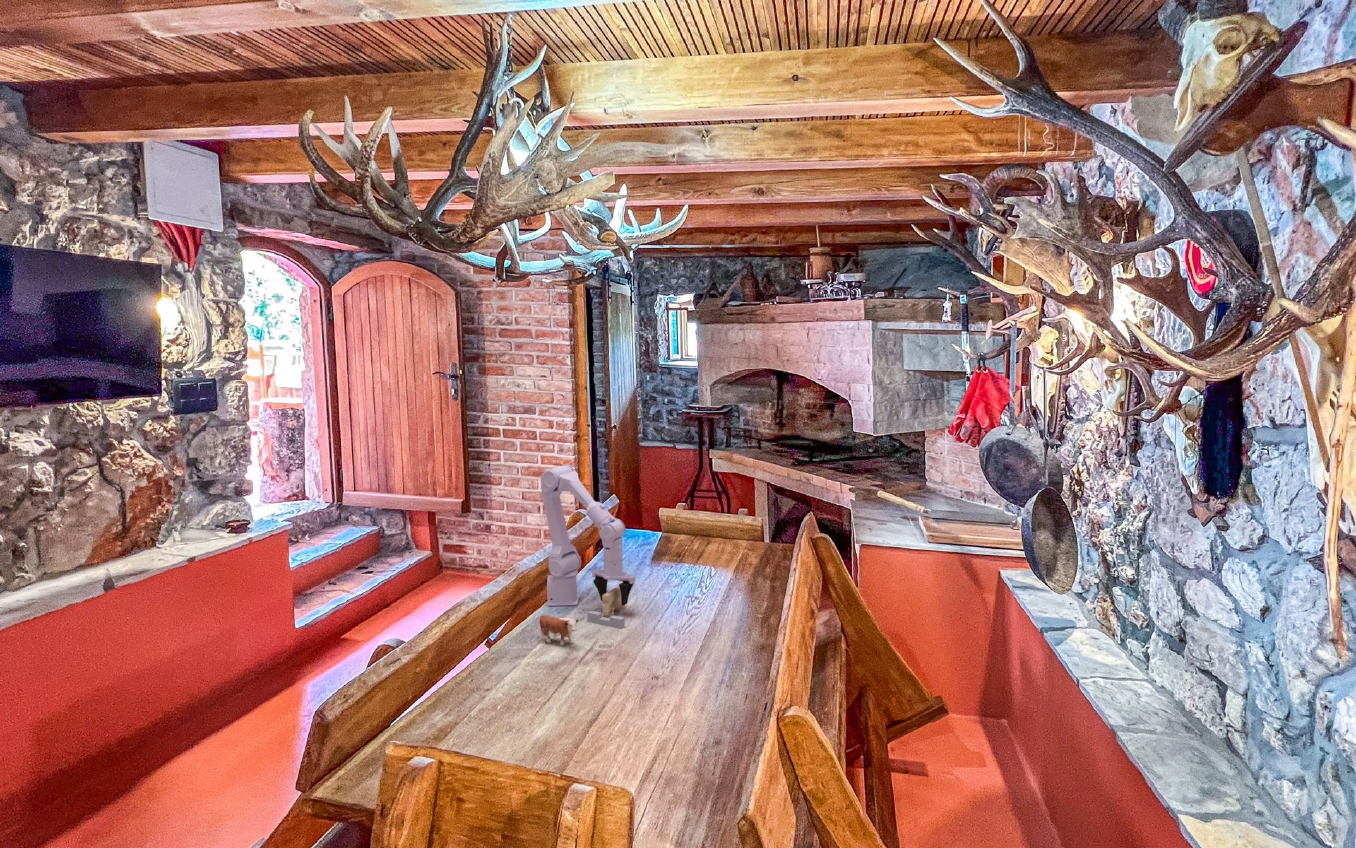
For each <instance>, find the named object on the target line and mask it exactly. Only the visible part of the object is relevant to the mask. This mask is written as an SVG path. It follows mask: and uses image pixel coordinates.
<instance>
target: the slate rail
mask: <svg viewBox="0 0 1356 848" xmlns="http://www.w3.org/2000/svg"><path fill="white" fill-rule="evenodd" d="M586 620H587V622H589V623H594V624H599V625H604V626H608V627H613V628H617V629H623V628H625V625H626V623H625V617H623V616H618V615H612V616H611V617H609V618H605V617H603V612H599V611H593V610H589V611H588V612H587V619H586Z"/></svg>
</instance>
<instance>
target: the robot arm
mask: <svg viewBox="0 0 1356 848" xmlns="http://www.w3.org/2000/svg"><path fill="white" fill-rule="evenodd" d="M540 482H541V493H540V494H541V498H542V502H543V508H544V512H545V513H544V514H545V516H546V521H547V527H548V530H549V535H550V539H551V544H552V545H551V546H552V549H551V550H550V552H549V554H548V571H549V572H550V574H548V575H547V583H546V591H547V592H546V597H547V606H548V607H549V606H550V607H557V606H560V607H561V606H563V607H564V606H577V605H578V604H579V599H580V595H578V582H577V581H578V580H577V578H578V577H577V575H578V572H579V571H578V570H579V569H580V567H581V566H582V559H581V556H580V555H579V552H578V551H577V547H576V546H575V545H573V544H572V543H571V541H570V537H569V533H568V528H567V524H566V519H565V514H564V510H563V509H564V508H563V505H562V500H561V495H562V493H563V492H570V493H571V495H573V497H574V498H576V500H577V501H579V503H580V504H581V505H582V506H583V507H584V508H585V509H586V511H585V514H586V516H587V517H588V518H589V520H590V521H591V522H592V523H593V524H594V525H595V527H596V528H597V529H598V530H599V531H598V535H599V538H600V539H601V543H602V547H603V569H595V568H594V570H592V571H591V573H592V574H591V575H592V576H591V577H592V578H594V579H593V580H592V583H593V584H594V586H595V587H596V589H597V592H598V595H599V599H600V601H601V602H602V595H604V594H605V593H607V592H608V591H607V590H608V580H612V581H619V582H621V583H619V584H618V586H619V588H620V591H621V603H622V605H625V606H626V605H627V604H628V601H629V596H630V593H631V590H632V588H633V586H634V584H635V583H636V576H635V575H632V574H629V573H626V572H624V570H623V569H624V568H623V536H624V535H625V533H626V526H625V523H624V522H623V521H622V520H621V519H619V518H616V517H615V516H613V515H612V514H611V513H610V512H609V511H608V509H607V508H606V505H605V504H604V503H602V502H600V501H595V500H594V498H593V497H592V495H591V494H590V493H589V492H588V490H587V489H586V487H585V486H584V485H583V483H582V481H581V480H580V479H579V473H578V472H577V471H576V470H575V468H574V467H573V466H572V465H570V464H568V463H567V464H564V465H560V466H556V467H553V468H547V469H546V470H544V472H543V473H542V474H541V475H540Z"/></svg>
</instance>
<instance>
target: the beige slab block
mask: <svg viewBox="0 0 1356 848" xmlns="http://www.w3.org/2000/svg"><path fill="white" fill-rule="evenodd" d="M601 603H602V617H605V618H610V617H611V616H613V615H614V613H615V612H614V611H618V612H620V611H621V610H623V609H625V608H626V604H625V605H622V603H621V591H620V588H619V585H618V586H616V587H614V588H613V589H611V590H609V591H607V593H605V594H604V595H602V601H601ZM614 616H615V615H614Z"/></svg>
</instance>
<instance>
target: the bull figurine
mask: <svg viewBox="0 0 1356 848" xmlns="http://www.w3.org/2000/svg"><path fill="white" fill-rule="evenodd" d="M578 622H579V618H577V619H574V618H570V617H564V618H563V617H562V618H560V617H555V616H549V615H545V614H544V615H541V616H540V617H539V626H540V634H541V636H542V637H543V638H545V641H546V642H547V643H548V644H551V643H552V641H551V638H552V637H551V636H550V633H552V634H554V636H557V635H560V643H559V644H560V646H561V647H564V646H565V643H564V639H565V637H566V638H567V639H568V643H569V644H570V645H571V644H574V642H573V640H572V638H571V637H572V636H571V635H572V634H573V632H577V630H578V629H577V628H576V623H578Z"/></svg>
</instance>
